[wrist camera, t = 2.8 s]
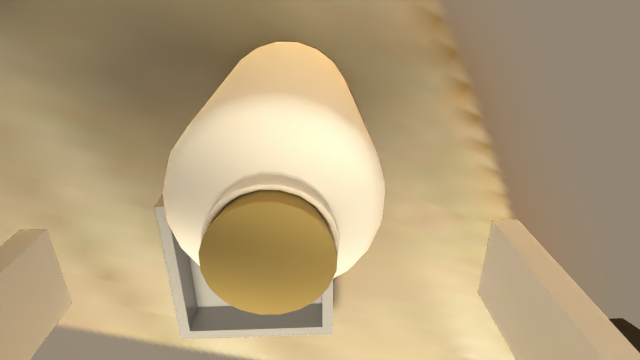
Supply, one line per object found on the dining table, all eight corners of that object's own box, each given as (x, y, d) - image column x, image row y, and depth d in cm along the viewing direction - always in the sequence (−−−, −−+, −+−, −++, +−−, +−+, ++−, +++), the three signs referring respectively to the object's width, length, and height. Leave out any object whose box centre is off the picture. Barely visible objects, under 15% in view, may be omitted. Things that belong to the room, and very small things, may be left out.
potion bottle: (201, 100, 28) (62, 263, 12) (287, 9, 26) (262, 56, 10) (288, 179, 31) (272, 398, 15) (373, 103, 29) (465, 263, 12)
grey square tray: (169, 183, 31) (154, 206, 27) (330, 180, 31) (334, 202, 28) (191, 307, 36) (181, 339, 33) (329, 303, 36) (332, 334, 33)
